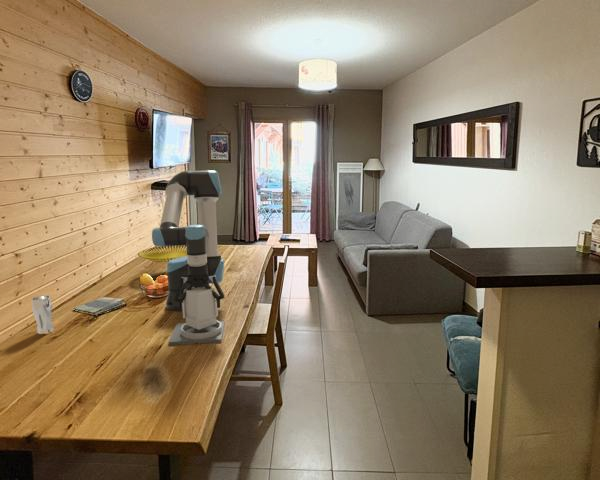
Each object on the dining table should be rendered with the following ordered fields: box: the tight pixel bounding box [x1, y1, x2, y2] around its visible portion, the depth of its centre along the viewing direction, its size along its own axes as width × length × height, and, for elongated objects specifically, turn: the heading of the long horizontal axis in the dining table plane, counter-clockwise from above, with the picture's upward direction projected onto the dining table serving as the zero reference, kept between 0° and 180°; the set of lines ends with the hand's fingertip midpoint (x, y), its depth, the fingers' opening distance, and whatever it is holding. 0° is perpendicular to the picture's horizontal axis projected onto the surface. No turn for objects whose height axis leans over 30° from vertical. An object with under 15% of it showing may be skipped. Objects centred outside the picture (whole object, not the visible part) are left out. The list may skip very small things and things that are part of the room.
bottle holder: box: [168, 319, 226, 346], centre depth 179 cm, size 20×19×3 cm
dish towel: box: [73, 296, 128, 316], centre depth 212 cm, size 19×18×3 cm
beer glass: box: [31, 294, 55, 334], centre depth 182 cm, size 7×7×15 cm
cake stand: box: [137, 245, 187, 276], centre depth 267 cm, size 40×40×15 cm
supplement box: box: [184, 287, 217, 330], centre depth 177 cm, size 9×9×15 cm
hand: (200, 316), depth 177 cm, fingers closed on supplement box, 12 cm apart
